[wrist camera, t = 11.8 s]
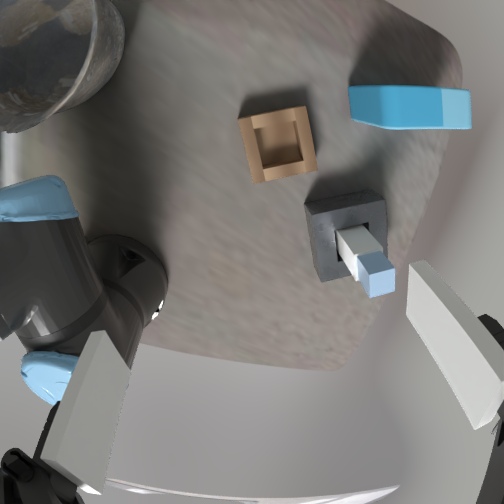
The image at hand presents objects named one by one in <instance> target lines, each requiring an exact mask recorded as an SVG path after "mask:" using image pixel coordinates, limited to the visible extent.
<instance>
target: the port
mask: <svg viewBox="0 0 504 504" xmlns="http://www.w3.org/2000/svg"><path fill="white" fill-rule="evenodd" d="M304 206H305V212H306V218H307V224H308V230H309V236H310V243H311V249H312V255H313V262H314V267H315V269H316V272H317V274H318V276H319V278H320V281H321V282H325V281H330V280H334V279H338V278H342V277H346V276H350V275H352V274H351V272H350V271H349V269H348V267H347V266H346V264H345V262H344V261H343V259H342V257H341V256H340V254H339V252H338V251H337V249H336V242H335V234H334V230H335V229H340V228H344V227H349V226H353V225H358V224H362V225H363V226H364V227H365V228H366V229H367V230H368V231H369V232H370V234H371V235H372V236H373V237H374V238H375V239H376V240H377V241H378V243H379V244H380V245H381V246H382V247H383V254H384V255H385V256H386V258H387V259H388V251H387V221H386V203H385V199H384V198H383V197H381V196H380V195H379V194H377V193H376V192H375V191H374V190H372V189H371V190H366V191H361V192H356V193H351V194H346V195H341V196H337V197H332V198H327V199H322V200H318V201H313V202H308V203H304Z"/></svg>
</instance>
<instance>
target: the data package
mask: <svg viewBox="0 0 504 504" xmlns="http://www.w3.org/2000/svg"><path fill="white" fill-rule="evenodd" d="M348 92H349V100H350V109H351V119H352V120H354V121H358V122H362V123H366V124H370V125H373V126H377V127H381V128H385V129H396V130H402V129H470V128H471V127H472V118H471V97H470V91H469V90H467V89H457V88H446V87H432V86H413V85H359V86H349V87H348Z"/></svg>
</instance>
